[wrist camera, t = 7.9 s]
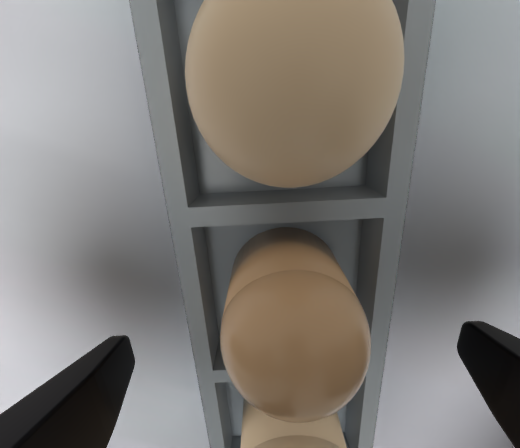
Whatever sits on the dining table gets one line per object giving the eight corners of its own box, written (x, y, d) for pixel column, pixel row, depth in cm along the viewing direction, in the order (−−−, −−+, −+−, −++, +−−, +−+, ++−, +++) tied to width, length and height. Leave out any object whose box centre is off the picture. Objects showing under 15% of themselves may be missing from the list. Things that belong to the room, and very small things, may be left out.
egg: (334, 317, 11) (389, 462, 6) (236, 320, 11) (217, 466, 6) (340, 224, 10) (415, 321, 5) (227, 229, 10) (195, 329, 5)
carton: (352, 427, 14) (406, 606, 9) (222, 431, 14) (201, 610, 9) (398, -43, 7) (723, -432, 2) (154, -25, 8) (-82, -356, 2)
